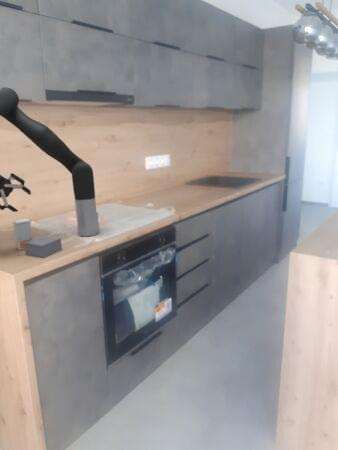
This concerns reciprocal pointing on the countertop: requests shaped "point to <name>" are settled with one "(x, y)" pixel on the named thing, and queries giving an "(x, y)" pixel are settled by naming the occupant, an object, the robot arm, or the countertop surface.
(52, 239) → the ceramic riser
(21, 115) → the robot arm
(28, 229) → the skincare box
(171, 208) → the countertop surface
